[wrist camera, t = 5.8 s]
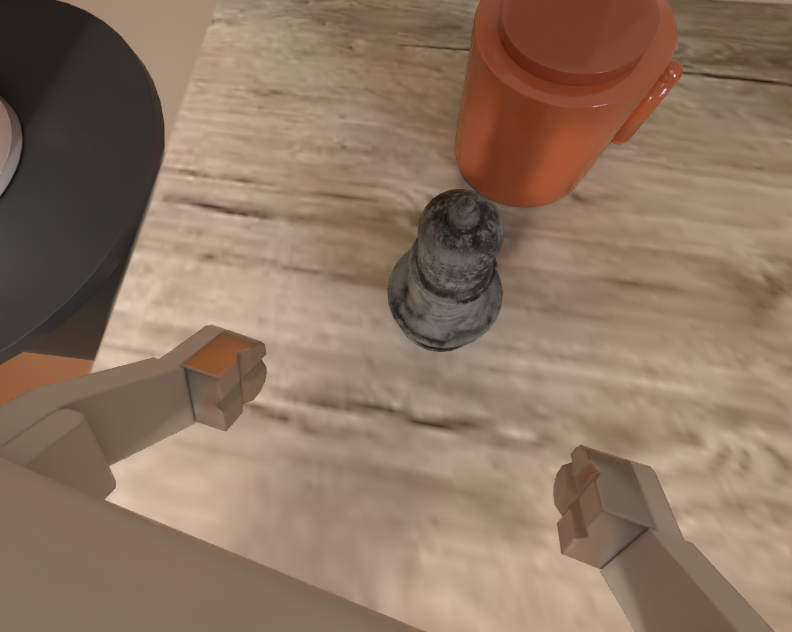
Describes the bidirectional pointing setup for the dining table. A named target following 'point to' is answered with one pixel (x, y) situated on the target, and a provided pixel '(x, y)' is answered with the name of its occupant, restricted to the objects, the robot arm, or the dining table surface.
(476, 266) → the grey chess piece
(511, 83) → the coffee cup
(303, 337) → the dining table surface
